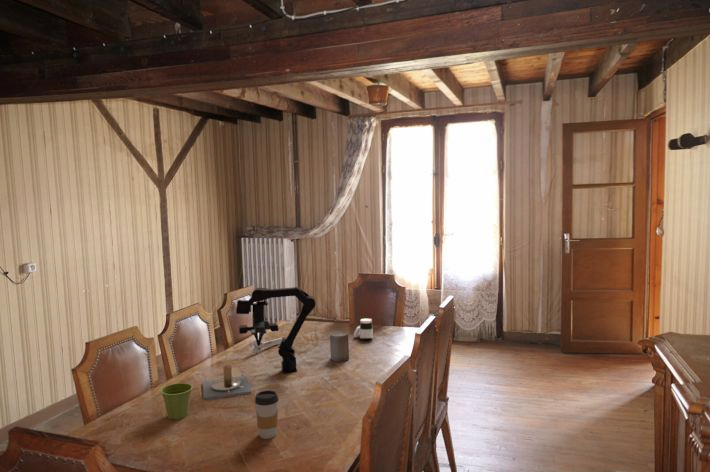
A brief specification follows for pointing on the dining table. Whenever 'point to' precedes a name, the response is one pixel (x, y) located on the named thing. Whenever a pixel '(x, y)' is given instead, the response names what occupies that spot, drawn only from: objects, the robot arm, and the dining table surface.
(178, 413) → the plant pot
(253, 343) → the wrench
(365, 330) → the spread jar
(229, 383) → the dial
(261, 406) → the coffee cup
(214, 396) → the dial board
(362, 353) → the dining table surface
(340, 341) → the pillar candle
